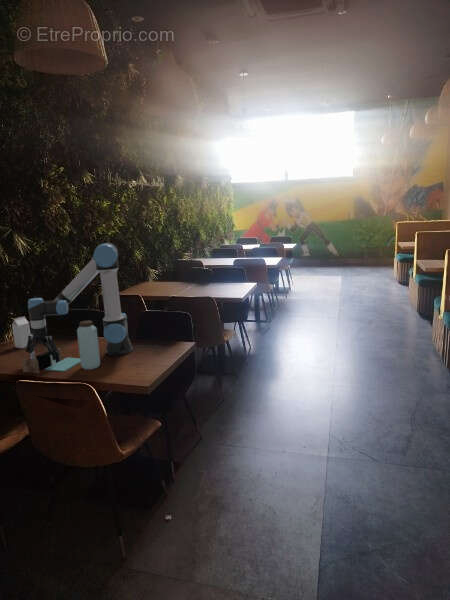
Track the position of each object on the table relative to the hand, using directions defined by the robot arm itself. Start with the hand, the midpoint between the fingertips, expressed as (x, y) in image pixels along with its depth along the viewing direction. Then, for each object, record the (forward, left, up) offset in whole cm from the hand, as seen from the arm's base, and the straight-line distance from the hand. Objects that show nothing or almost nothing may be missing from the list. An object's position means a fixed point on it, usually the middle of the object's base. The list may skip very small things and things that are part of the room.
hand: (43, 364), depth 226 cm
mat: (-11, -4, -1) cm, 12 cm away
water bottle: (-27, -4, -1) cm, 27 cm away
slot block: (+1, 0, -1) cm, 1 cm away
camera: (-1, -1, -1) cm, 2 cm away
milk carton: (+38, -27, -1) cm, 47 cm away
